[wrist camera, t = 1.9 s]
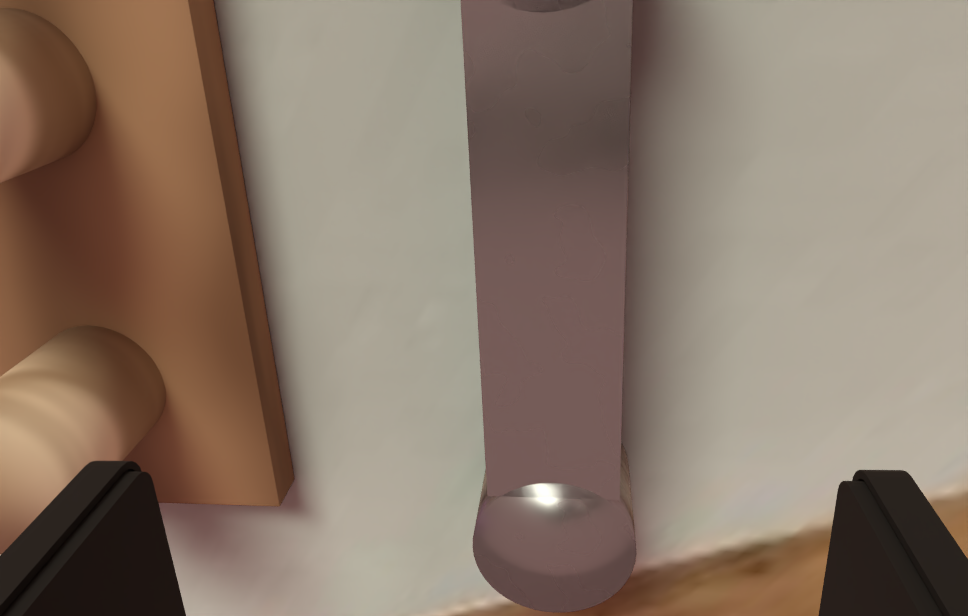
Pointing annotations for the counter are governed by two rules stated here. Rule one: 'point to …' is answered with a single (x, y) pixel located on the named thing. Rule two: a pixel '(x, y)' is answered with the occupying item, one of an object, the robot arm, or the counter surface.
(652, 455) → the counter surface
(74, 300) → the tool rest
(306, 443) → the counter surface
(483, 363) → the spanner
